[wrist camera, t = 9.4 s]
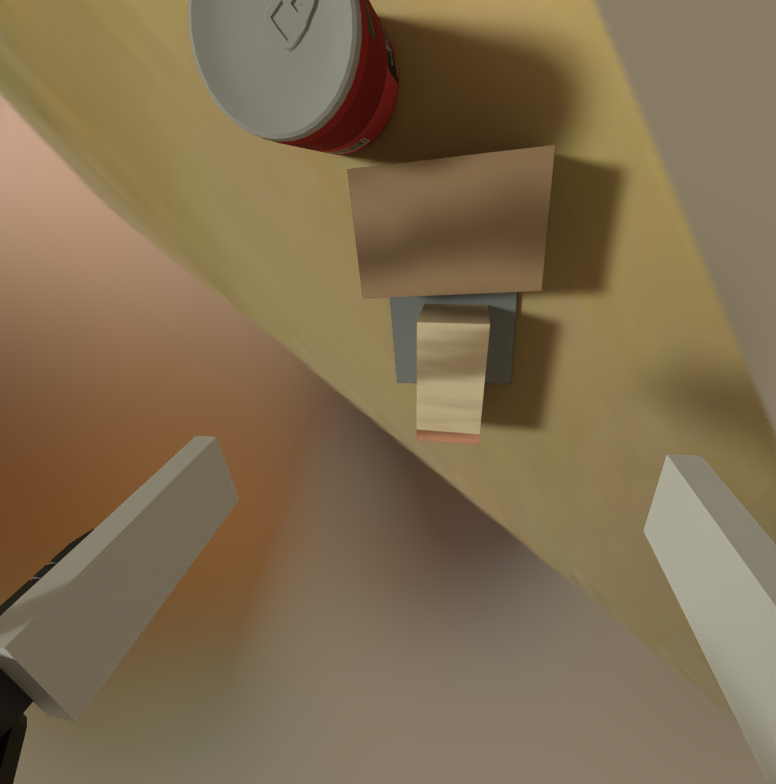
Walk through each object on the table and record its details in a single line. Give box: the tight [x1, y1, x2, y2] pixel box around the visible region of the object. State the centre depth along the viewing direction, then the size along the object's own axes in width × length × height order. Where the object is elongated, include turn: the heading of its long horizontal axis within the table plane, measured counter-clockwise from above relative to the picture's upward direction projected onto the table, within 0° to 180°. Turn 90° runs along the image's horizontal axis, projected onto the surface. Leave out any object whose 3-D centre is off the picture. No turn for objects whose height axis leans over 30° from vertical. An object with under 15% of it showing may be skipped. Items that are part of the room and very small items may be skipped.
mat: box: [390, 292, 517, 384], centre depth 32 cm, size 8×10×1 cm
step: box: [347, 145, 555, 298], centre depth 26 cm, size 8×12×5 cm, turn 95°
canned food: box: [188, 0, 399, 155], centre depth 21 cm, size 8×8×11 cm
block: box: [417, 303, 490, 445], centre depth 31 cm, size 5×5×10 cm
